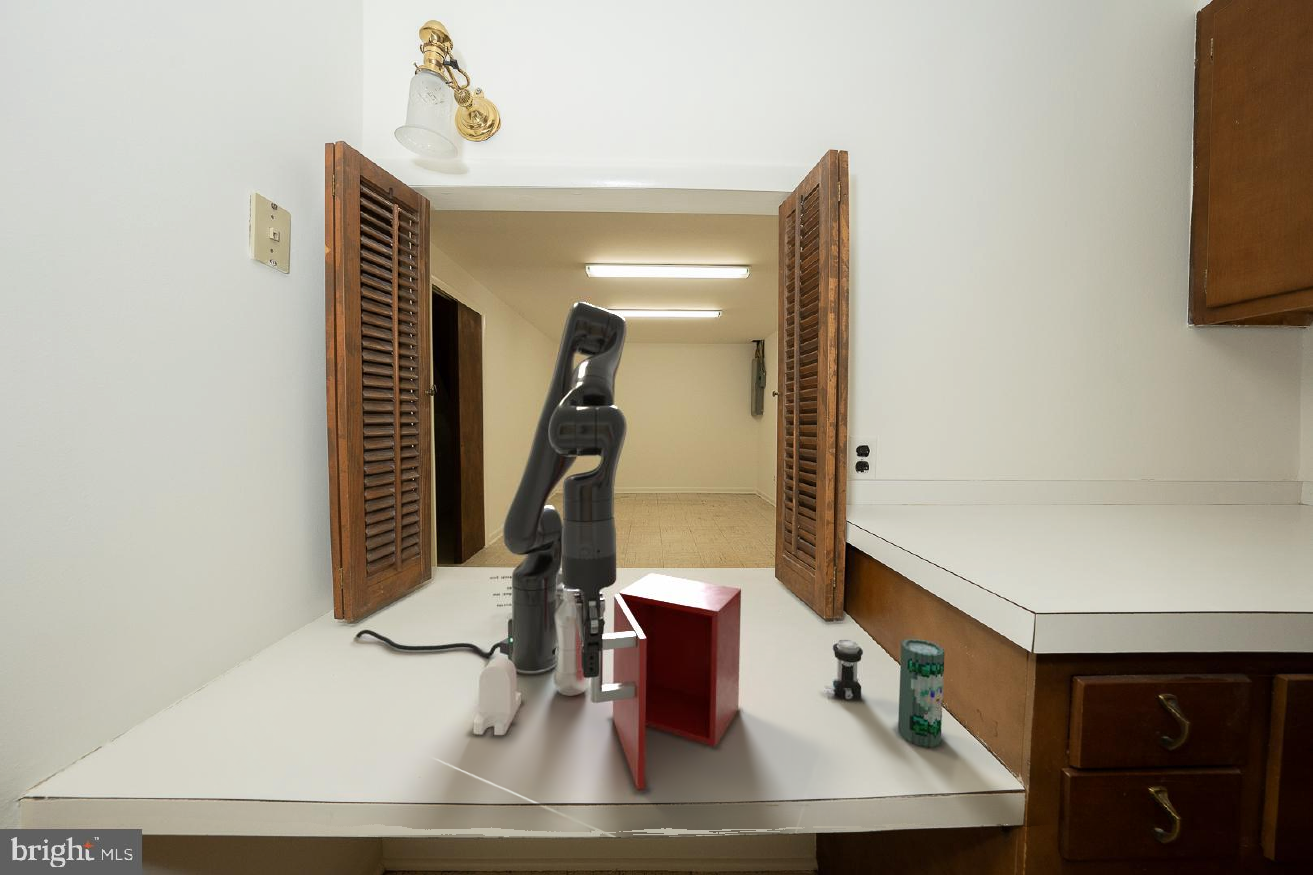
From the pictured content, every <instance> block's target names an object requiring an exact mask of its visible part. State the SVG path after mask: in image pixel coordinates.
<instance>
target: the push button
mask: <svg viewBox="0 0 1313 875" xmlns="http://www.w3.org/2000/svg"><path fill="white" fill-rule="evenodd" d="M832 651H833V652H834V653H833V654H834V657H835V658H836V659H837V660H836V664H837V665H836V676H835V678H833V679H832V685H825V686H824V688H825V689H826V690H824V694H831V695H834V697H835V698H841V699H842V698H843V699H846V700H851V699H856V700H861V699H862V685H861V684H860V682H859V678H858V662H861V661H862V655H864V650H863V649H862V647H861V646H859V644H858V642H856V641H853V640H850V639H840V640H838V641H837V643H834V644H833V645H832ZM827 689H828V690H827Z"/></svg>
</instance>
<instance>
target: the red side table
mask: <svg viewBox="0 0 1313 875" xmlns="http://www.w3.org/2000/svg"><path fill="white" fill-rule="evenodd" d="M646 643H647V638H646V636H645V635H644V633H643V632H642V630H641V628H640V627H639V625H638V623H637V622H636V620H635V619H634V617H633V615H632V614H631V612H630V610H629V609H628V607H627V606H626V604H625V602H624V601H623V599H622V597H621V596H620V594H619V593H618V594H613V632H612V633H605V634H604V633H603V643H602V644H603V648H602V651H599V675H598V676H597V677H592V678H590V702H592V703H595V704H598V703H606V702H612V720H613V723H614V726H615V729H616V732H617V734H618V737H619V740H620V743H621V746H622V748H623V752H624V754H625V757H626V759H627V760H626V761H627V763H628V766H629V769H630V772H631V774H632V777H633V782H634V783H635V787H636V789H637V791H642V790H644V789H645V787H646V786H645V782H646V781H645V779H646V778H645V777H646V725H645V715H646ZM607 650H608V651H609V650H613V652H612V653H613V654H612V656H613V658H612V659H613V661H612V665H613V666H612V668H613V670H612V679H613V680H612V683H609V684H604V685H603V682H604V681H603V678H604V677H603V673H604V671H603V670H604V669H603V668H604V656H603V655H604V651H607Z"/></svg>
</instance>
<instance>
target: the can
mask: <svg viewBox="0 0 1313 875" xmlns="http://www.w3.org/2000/svg"><path fill="white" fill-rule="evenodd" d="M945 653H946V651H945V649H944V648H943V647H942V646H941V645H939V644H937V643H934V642H932V641H928V640H926V639H918V638H908V639H903V640H902V641H901V644H900V667H899V668H900V670H899V694H898V719H897V731H898V734H900V737H902V738H903V739H904V740H906V741H907V742H909V743H912V744H914V745H915V746H920V747H922V746H923V747H924V748H925V747H930V748H932V747H935V746H939V745H940V742H942V723H943V722H942V721H943V698H944V696H943V695H944V679H945V678H944V677H945V676H944V674H945V656H946V655H945Z"/></svg>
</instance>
